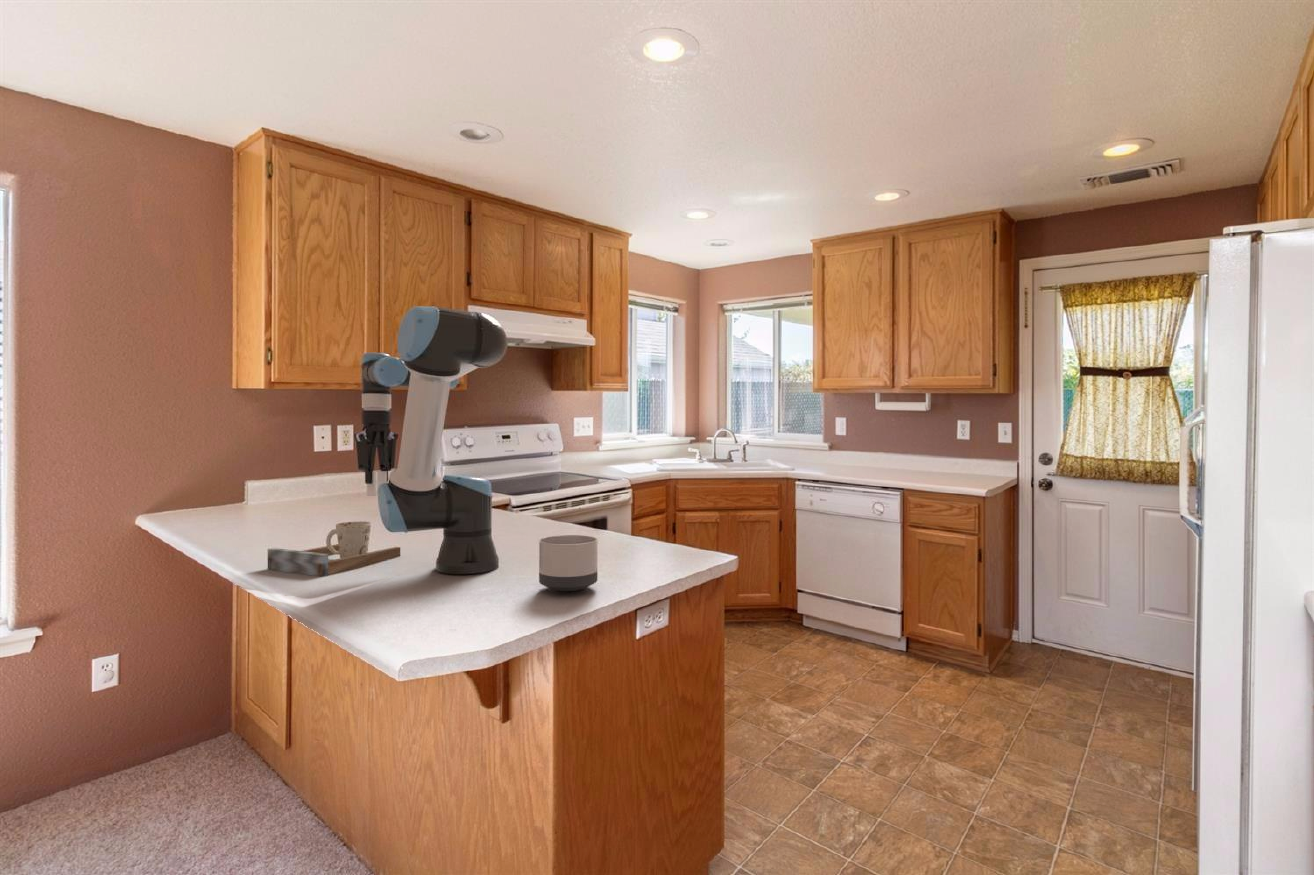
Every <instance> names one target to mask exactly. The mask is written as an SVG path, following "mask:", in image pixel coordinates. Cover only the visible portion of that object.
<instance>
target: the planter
mask: <svg viewBox="0 0 1314 875" xmlns="http://www.w3.org/2000/svg"><path fill="white" fill-rule="evenodd" d="M598 547H599V546H598V538H597V537H595V536H591V535H584V534H583V535H581V534H563V535H561V534H560V535H550V536H545V537H541V538H540V539H539V540H538V548H539V549H538V582H539V584H540V585H542V586H544V587H546V588H549V589H551V590H553V591H558V592H575V591H582V590H583V589H586V588H589V587H590V586H592V585H594V584H596V583H598V582H597V581H598V570H599V569H598V564H599V563H598V562H599V560H598V556H599V555H598V554H599V553H598V549H599V548H598Z"/></svg>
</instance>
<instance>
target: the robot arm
mask: <svg viewBox="0 0 1314 875" xmlns="http://www.w3.org/2000/svg"><path fill="white" fill-rule="evenodd" d="M502 326H503V325H501V324H500V323H499V322H498V321H497V320H496V319H495V318H493V317H491V316H490V315H488V314H486V313H482V312H479V311H469V310H467V311H466V310H460V309H452V308H445V307H437V306H435V305H432V306H431V305H430V306H422V305H416V306H413V307H411V308H409V309H408V311H407V312H406V313H405V314H404V315H403V318H402V320H401V322H400V325H399V329H398V333H397V346H396V348H397V354H398V356H399V357H396V356H391V355H390V354H388V353H384V352H365V353H364V354H362V357H361V364H360V368H361V408H362V409H364V410H362V411H361V424H363V427H362V429H361V432H359V433H355V434H354V435H353V437H354V440H355V444H356V455H357V468H358V470H361V472H362V473H364V483H365V484H366V496H367V497H368V496H369V497H376V496H377V503H378V510H379V515H380V519H381V522H382V525H383V526H384V528H385V530H387V531H388V532H389V533H406V534H407V533H408V532H411V533H412V532H419V531H420V532H421V531H429V530H441V529H442V530H443V534H442V535H443V536H442V538H443V539H442V542H441V544H440V547H439V551H438V554H437V555H438V556H437V557H436V561H435V571H437V572H438V573H441V574H447V575H448V574H449V575H470V574H480V573H487V572H490V571H491V572H492V571H494V570H496V569H498V568H499V563H500V562H499V560H500V558H499V555H498V553H497V550H496V547H495V543H494V540H493V537H492V530H493V529H492V526H493V525H492V524H493V523H492V519H493V518H492V516H493V513H492V511H493V508H492V507H493V505H492V504H493V500H492V499H493V495H492V493H493V492H492V483H491V481H490V480H488V479H486V478H484V477H473V476H465V475H457V474H456V475H454V474H444V475H443V477H441V476H440V475H439V474H438V473H437V471H438V465H439V456H440V453H441V452H440V451H441V446H442V445H441V444H442V438H443V433H444V426H445V420H446V415H447V408H448V402H449V395H450V389H451V390H452V389H455V388H456V387H457V385H458V384H459V382H460V378H461V377H464V376H465V375H467V374H468V373H471V372H473V371H474V370H476V369H478V368H480V369H485V368H490V367H492V366H494V365H496V364H497V363H498V362H501V360H502V359H503V358H504V357H505V354H506V353H507V349H508V337H507V334H506V331H505V329H504V328H503V327H502ZM392 388H408V389H407V397H406V403H405V410H404V411H405V412H404V418H403V427H402V434H401V441H400V449H399V454H398V463H397V468H395V463H396V462H395V461H396V451H397V450H396V449H397V448H396V445H397V441H398V437H399V434H398V433H394V432H392V431H391V428H390V424H392V411H390V409H392ZM376 452H377V458H378V466H379V470H377V471H374V469H375V462H376ZM394 468H395V469H394ZM392 469H394V470H392ZM390 471H391V472H390ZM389 472H390V473H389Z"/></svg>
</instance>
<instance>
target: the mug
mask: <svg viewBox="0 0 1314 875" xmlns="http://www.w3.org/2000/svg"><path fill="white" fill-rule="evenodd" d="M371 529H372V523H371V522H370V521H346V522H345V521H344V522H340V523H336V524H335V528H334V529H332V530H330V531H329V532H328V534H327V535H326V539H325V540H326V541H325V542H326V543H325V544H326V546H327V547H328V549H329V550H330V551H331V552H332V553H334V555H339V559H340V558H345V557H350V556H355V555H359V554H364V553H369V552H368V550H369V543H370V535H371ZM334 535H336V537H337V544H338V545H339V551H336V550H335V549H334V548H333V547H332V545H333V544H332V543H331V542H332V538H333V536H334Z"/></svg>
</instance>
